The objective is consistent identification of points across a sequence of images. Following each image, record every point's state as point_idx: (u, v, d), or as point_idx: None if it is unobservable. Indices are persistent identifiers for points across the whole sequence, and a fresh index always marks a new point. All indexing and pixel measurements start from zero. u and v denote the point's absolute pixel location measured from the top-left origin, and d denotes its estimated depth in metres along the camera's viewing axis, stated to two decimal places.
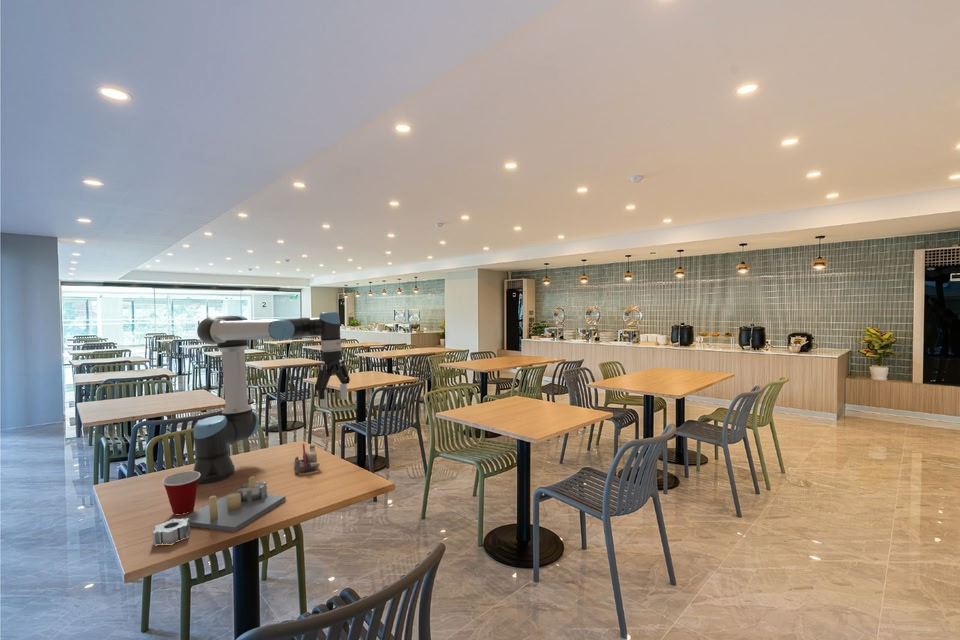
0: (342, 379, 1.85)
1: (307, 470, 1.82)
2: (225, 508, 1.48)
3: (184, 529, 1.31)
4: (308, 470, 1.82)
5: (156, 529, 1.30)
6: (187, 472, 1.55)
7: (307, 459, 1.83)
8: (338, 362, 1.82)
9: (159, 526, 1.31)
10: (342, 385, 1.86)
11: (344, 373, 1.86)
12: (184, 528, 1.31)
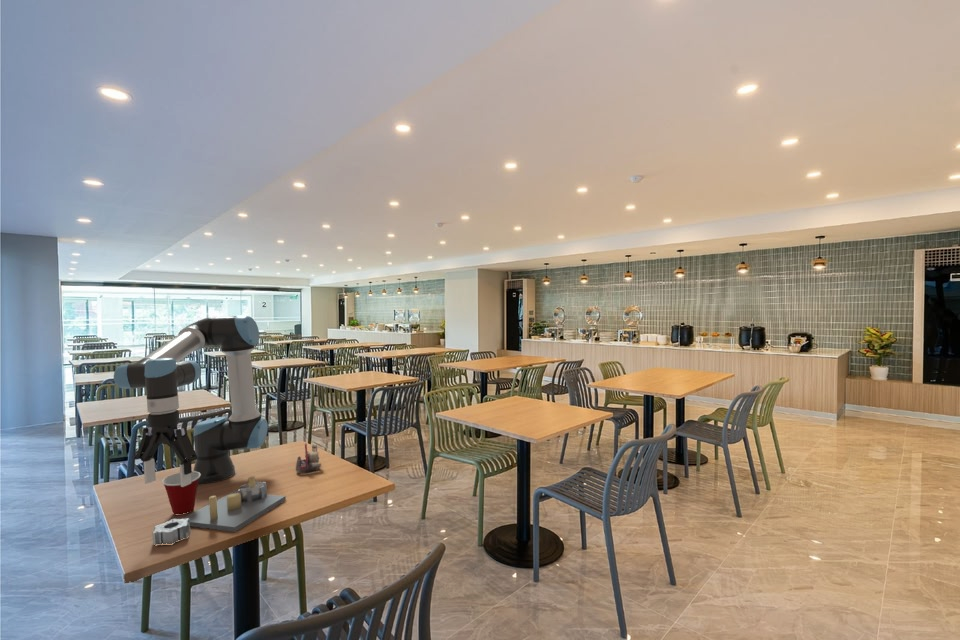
0: None
1: (309, 470, 1.82)
2: (225, 508, 1.48)
3: (184, 529, 1.31)
4: (310, 470, 1.82)
5: (156, 529, 1.30)
6: None
7: (309, 459, 1.83)
8: (168, 430, 1.29)
9: (159, 526, 1.31)
10: None
11: None
12: (184, 528, 1.31)
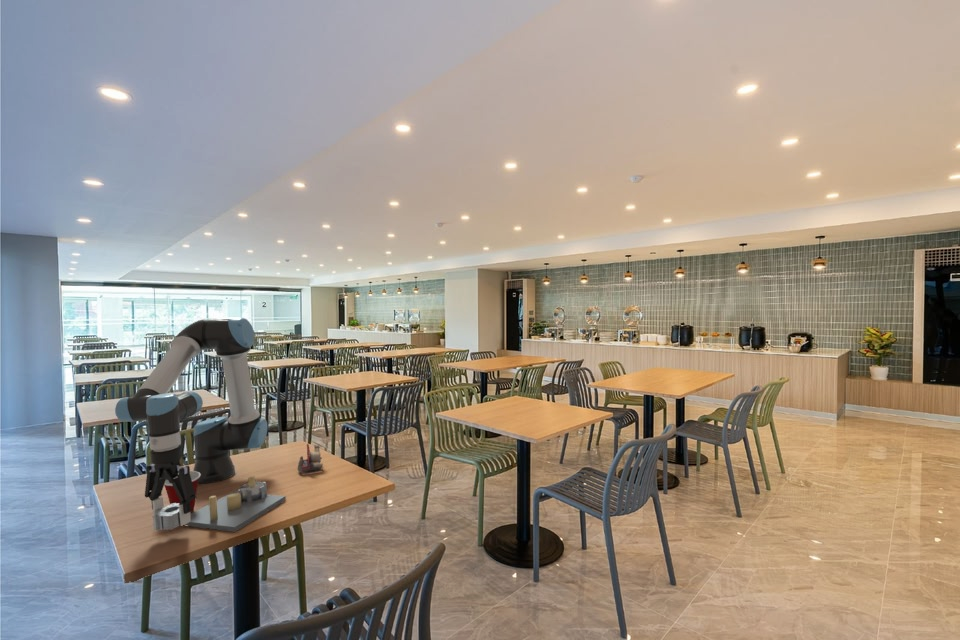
0: None
1: (310, 470, 1.81)
2: (225, 508, 1.48)
3: None
4: (311, 470, 1.82)
5: (156, 513, 1.30)
6: None
7: (311, 459, 1.83)
8: (171, 466, 1.30)
9: (159, 511, 1.32)
10: None
11: None
12: None
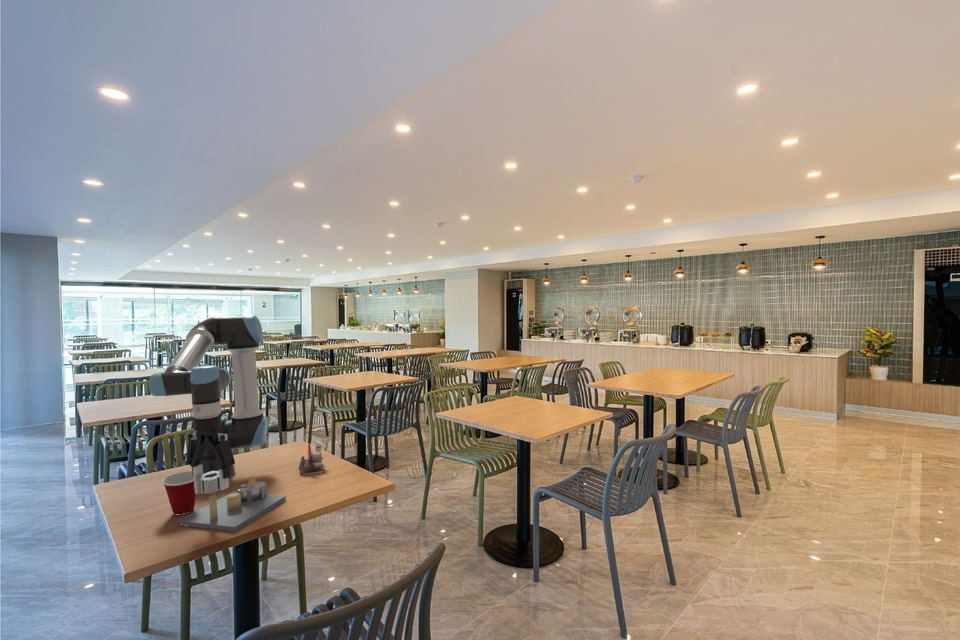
0: None
1: (311, 470, 1.81)
2: (225, 508, 1.48)
3: None
4: (312, 470, 1.81)
5: (197, 478, 1.38)
6: (187, 472, 1.55)
7: (312, 459, 1.82)
8: (212, 433, 1.38)
9: (199, 476, 1.39)
10: None
11: None
12: None
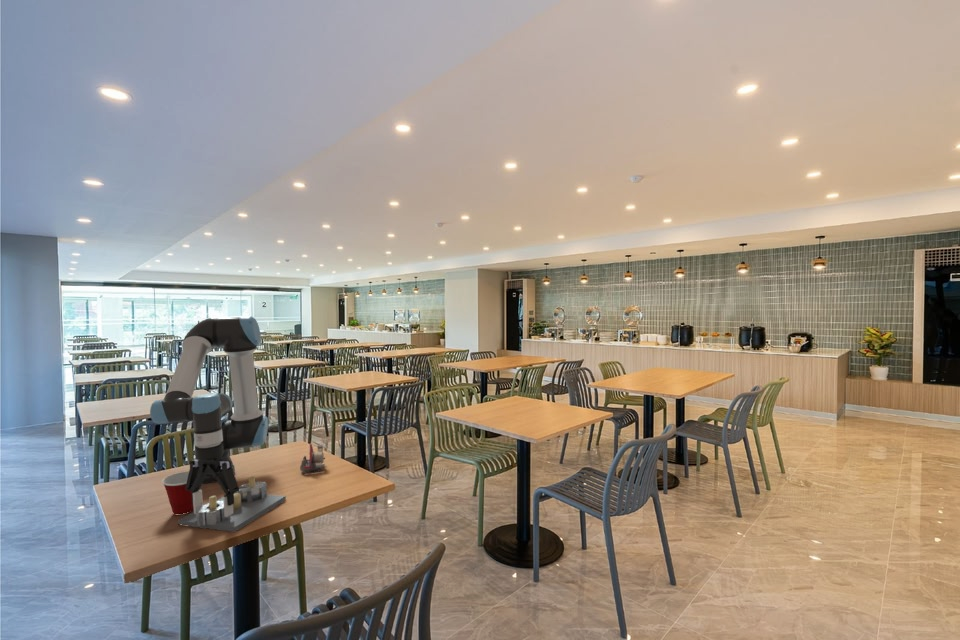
0: None
1: (313, 470, 1.81)
2: None
3: None
4: (314, 470, 1.81)
5: (199, 510, 1.38)
6: (187, 472, 1.55)
7: (313, 459, 1.82)
8: (214, 462, 1.38)
9: (201, 507, 1.40)
10: None
11: None
12: None
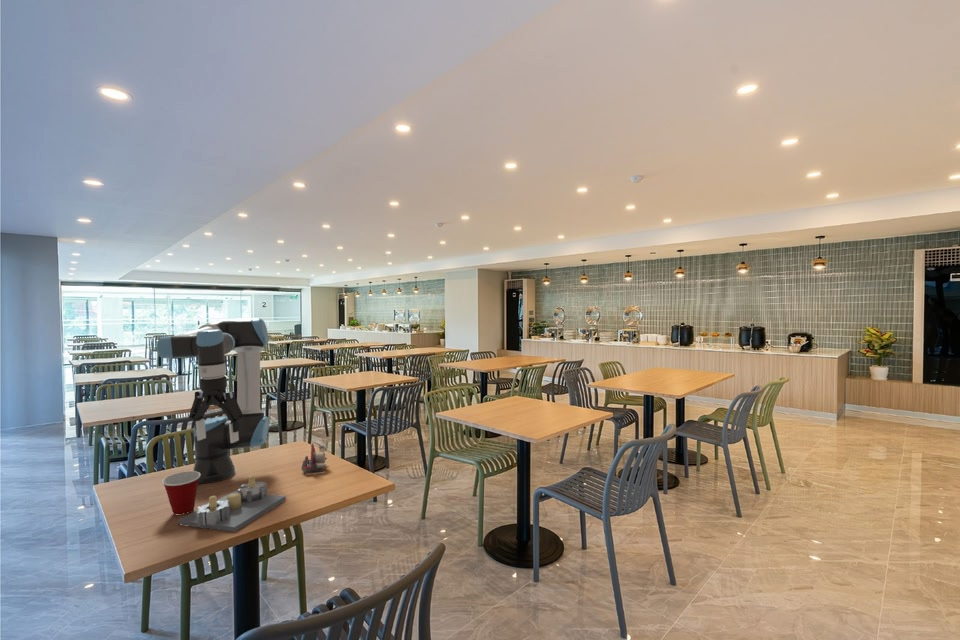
0: None
1: (314, 470, 1.81)
2: None
3: (225, 510, 1.40)
4: (315, 470, 1.81)
5: (199, 510, 1.38)
6: (187, 472, 1.55)
7: (314, 459, 1.82)
8: (218, 393, 1.46)
9: (201, 507, 1.40)
10: None
11: None
12: (225, 509, 1.40)
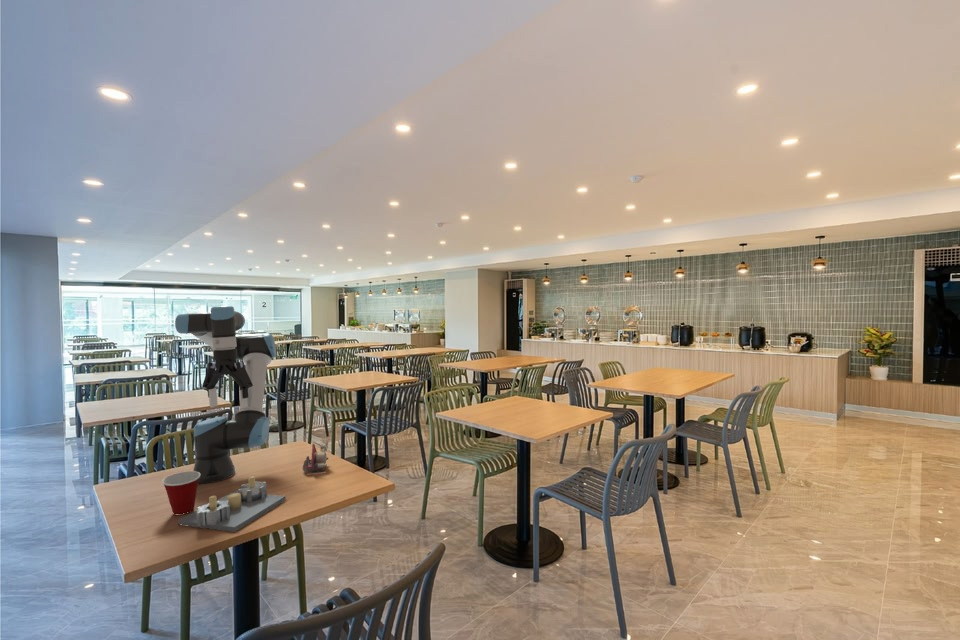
0: None
1: (315, 470, 1.81)
2: None
3: (225, 510, 1.40)
4: (316, 470, 1.81)
5: (199, 510, 1.38)
6: (187, 472, 1.55)
7: (315, 459, 1.82)
8: (229, 363, 1.61)
9: (201, 507, 1.40)
10: None
11: None
12: (225, 509, 1.40)
